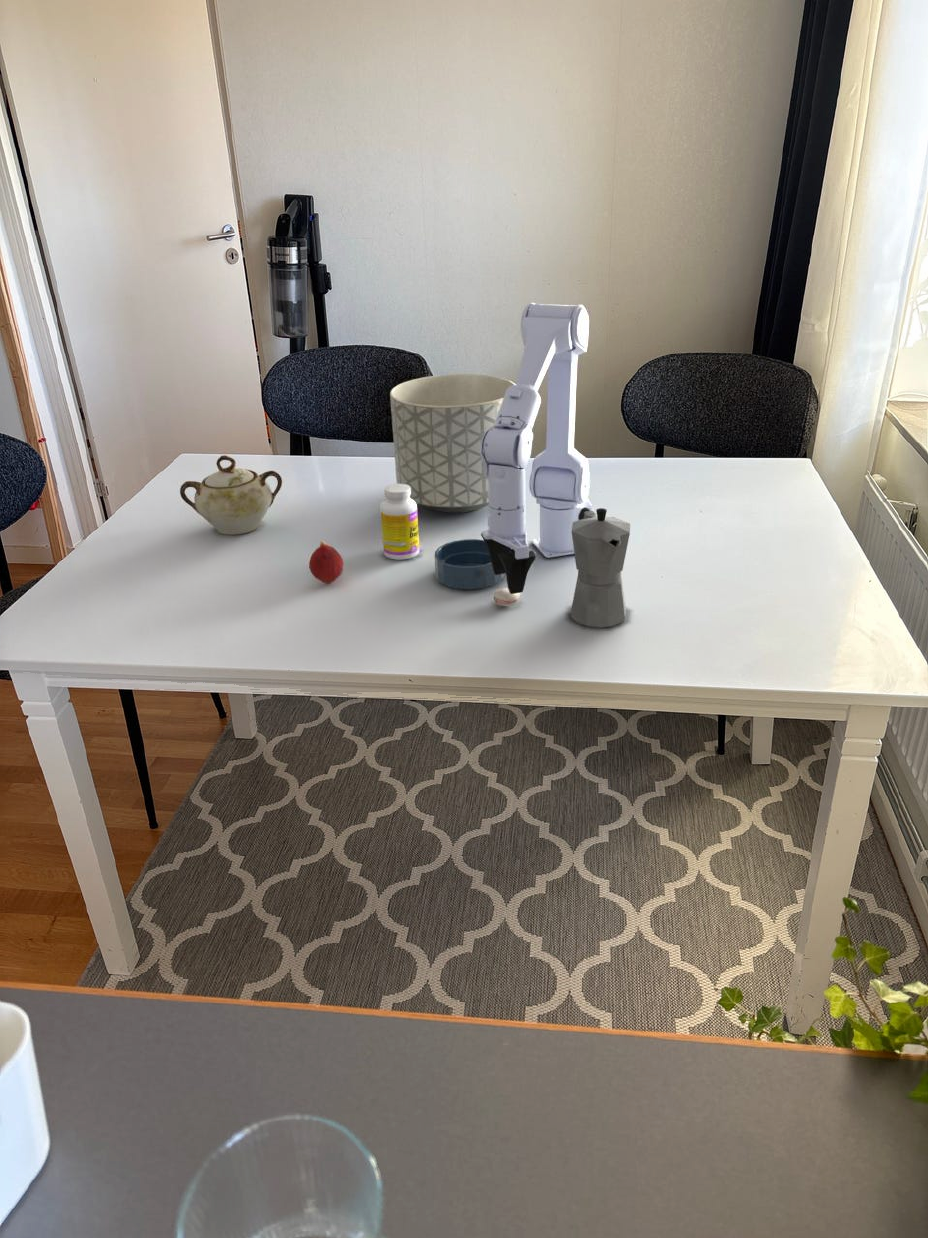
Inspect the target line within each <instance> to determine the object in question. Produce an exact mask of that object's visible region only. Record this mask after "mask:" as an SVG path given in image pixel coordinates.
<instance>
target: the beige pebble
mask: <svg viewBox="0 0 928 1238" xmlns="http://www.w3.org/2000/svg"><path fill="white" fill-rule="evenodd" d="M521 593H522V592H521ZM521 593H515V594H510V592H509V590H508V587H503V588H499V589H496V590H494V592H493V601H494V602H495V603H496V605H498V606H501V607H510V606H514V605H515V604H517V602H518V601H519V600H520V598H521V595H522V594H521Z"/></svg>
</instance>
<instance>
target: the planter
mask: <svg viewBox="0 0 928 1238" xmlns="http://www.w3.org/2000/svg"><path fill="white" fill-rule="evenodd" d="M515 384H516V383H514V382H513V381H511V380H509V379H506V378H502V377H499V376H494V375H487V374H475V373H474V374H472V373H452V374H440V375H429V376H424V377H419V378H413V379H411V380H407V381H404V382H401V383H399V384H396V386H394V387H393V388H392V389H391V390H390V392H389V398H390V411H391V424H392V438H393V439H392V440H393V452H394V463H395V464H394V466H395V478H396V484H406V485H409V486H410V489H411V494H410V498H411V499H413V500H414V501H415V502H416V504H418V505H422V506H423V507H427V508H429V509H432V510H434V511H438V512H444V513H452V514H459V513H460V514H461V513H468V512H474V511H477V510H480V509H482V508H485V507H488V506H489V491H488V477H487V476H486V475H485V471H484V464H483V462H482V459H481V452H480V451H481V444H482V439H483V436H484V434H485V432H486V431H487V430H491V428H493V427H494V424H495V421H496V418H497V415H498V412H499V410H500V407H501V404H502V401H503V398H504V395H505V392H506V390H507V389H508V388H509V387H510V386H513V385H515Z"/></svg>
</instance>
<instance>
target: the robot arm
mask: <svg viewBox="0 0 928 1238" xmlns="http://www.w3.org/2000/svg"><path fill="white" fill-rule="evenodd" d="M589 318H590V317H589V314H588V312H587V309H586V308H585V306H584V305H583V304H577V305H575V304H549V303H535V302H528V303H527V304H526V305H525V307H524V308H523V310H522V313H521V316H520V334H521V339H522V343H523V346H524V348H523V352H522V357H521V359H520V365H519V369H518V373H517V377H516V382H515V383H514V384H515V385H513V386H510V387H509V388H508V389H507V390H506V392H505V395H504V398H503V401H502V404H501V407H500V410H499V412H498V415H497V418H496V421H495V424H494V427H493V428H491V430H487V431H486V432H485V434H484V436H483V439H482V444H481V451H480V452H481V459H482V462H483V464H484V471H485V475H486V476H487V477H488V491H489V505H488V515H487V527H488V528H487V530H483V531H482V532H481V533H480V536H481V538H482V540H484V542H485V544H486V546H487V548H488V551H489V555H490V558H491V563H492V567H493V570H494V573H495V575H499V574H505V578H506V585H507V588H508V590H509V592H510V594H515V593H523V592H524V589H525V585H526V582H527V577H528V574H529V572H530V570H531V567H532V565H533V563H534V561H535V560H536V558H537V554H536V553H535V551H534V550H530V546H529V544H528V529H527V528H526V527H527V526H526V467H527V465H528V464H529V461H530V459H531V455H532V448H533V440H534V433H533V431H532V430H533V427H534V424H535V421H536V418H537V416H538V413H539V409H540V407H541V404H542V399H541V395H540V394H539V392H538V391H539V388H540V387H541V384H542V382H543V380H544V377H545V375H546V373H548V374H547V397H546V398H547V402H546V403H547V405H546V441H545V449H544V450H543V451H541V452H539V454H537V455H536V456H535V457H534V459H533V460H532V464H531V473H530V476H529V484H528V485H529V486H528V487H529V492H530V494H531V496H532V497H533V499H535V500H536V501H535V502H536V503H535V504H537V505H539V538H536V539H532V540H531V543H532V544H533V545H534V546H535V547H536V549H538V551H539V552H540V553H541V554H542V555H543V556H544V557H546V559H550V558H556V557H563V556H569V555H575V553H574V546H573V539H572V532H571V531H572V525H573V522H575V521H578V520H579V519H578V515H579V513H580V511H581V509H583V508H585V507H586V508H589V509H590V511H593V512H594V509H593V505H592V503H591V502H590V500H589V499H588V497H589V493H590V489H591V475H590V464H589V460H588V458H587V457H585V456H584V455H583V454H582V453H580V452H579V451H578V450H577V449H576V448H575V429H576V427H575V426H576V425H575V423H576V402H577V401H576V399H577V376H578V374H577V373H578V362H579V361H578V360H579V355H582V354H585V353H587V352H588V351H587V350H588V345H589V327H590V319H589Z"/></svg>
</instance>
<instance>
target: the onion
mask: <svg viewBox="0 0 928 1238" xmlns="http://www.w3.org/2000/svg"><path fill="white" fill-rule="evenodd" d="M343 559H344V558H343V556H342V555H341V554H340V552H339V551H337V549H336V548H335V547H333V546H330V545H328V544H327V543H326V542H325V541H324V540H320V544H319V546H318V547H317V548H316V549H315V550H314V551H313V552H312V554H311V555H310V558H309V562H308V568H309V571H310V573H311V575H312V576H313V577H314V578H315V579H317V580H318V581H320V582H321V583H323V584H325V585H330V584H332V583H333V582H334V581H336V580H337V579H338V578H339V577H340V576H341V575H342V574H343V571H344V560H343Z"/></svg>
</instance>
